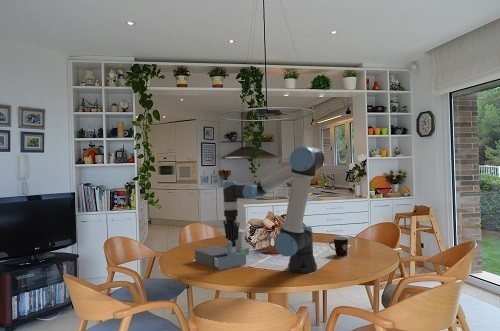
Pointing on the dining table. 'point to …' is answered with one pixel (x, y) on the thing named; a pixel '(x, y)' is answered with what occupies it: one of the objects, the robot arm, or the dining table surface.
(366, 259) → the dining table surface
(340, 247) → the coffee mug
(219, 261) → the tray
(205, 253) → the slate blue box
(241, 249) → the skincare box
